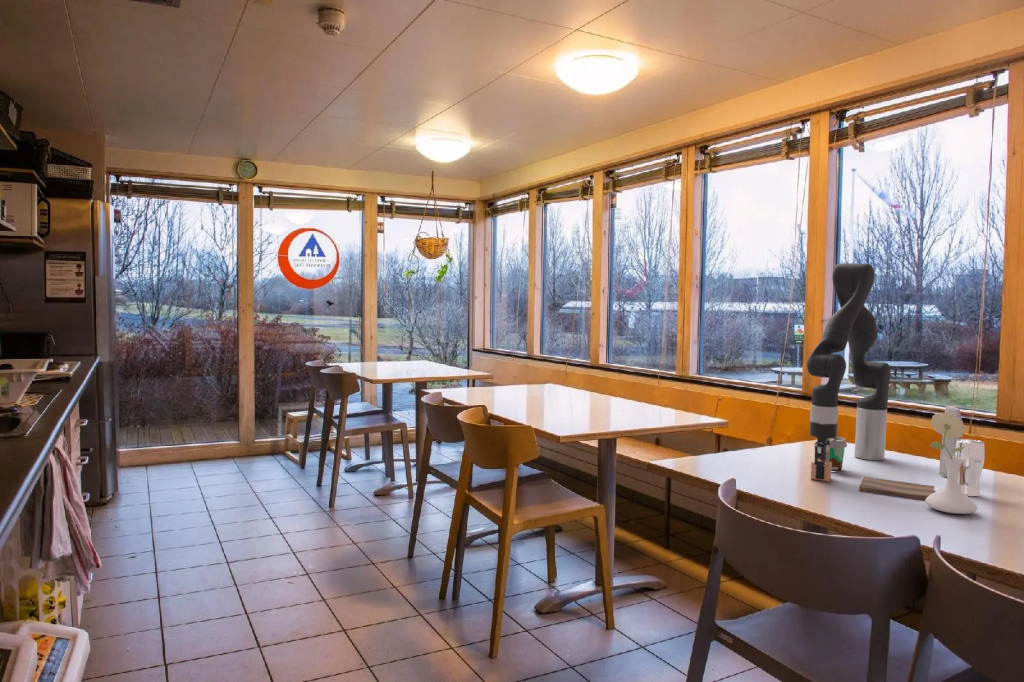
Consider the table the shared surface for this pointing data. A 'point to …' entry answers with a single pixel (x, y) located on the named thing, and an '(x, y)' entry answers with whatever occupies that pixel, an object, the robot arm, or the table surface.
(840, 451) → the food container
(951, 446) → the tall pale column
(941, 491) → the flower in vase
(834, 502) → the table surface
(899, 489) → the walnut board
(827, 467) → the terracotta cube
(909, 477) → the table surface
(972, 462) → the beer glass
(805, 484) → the table surface
